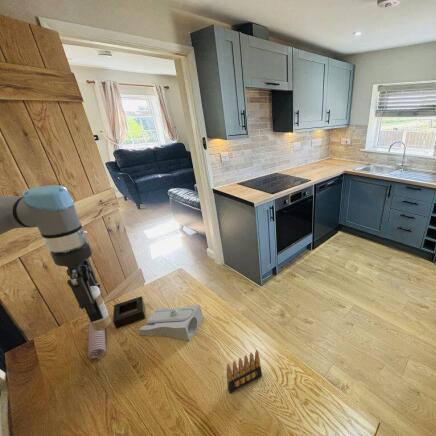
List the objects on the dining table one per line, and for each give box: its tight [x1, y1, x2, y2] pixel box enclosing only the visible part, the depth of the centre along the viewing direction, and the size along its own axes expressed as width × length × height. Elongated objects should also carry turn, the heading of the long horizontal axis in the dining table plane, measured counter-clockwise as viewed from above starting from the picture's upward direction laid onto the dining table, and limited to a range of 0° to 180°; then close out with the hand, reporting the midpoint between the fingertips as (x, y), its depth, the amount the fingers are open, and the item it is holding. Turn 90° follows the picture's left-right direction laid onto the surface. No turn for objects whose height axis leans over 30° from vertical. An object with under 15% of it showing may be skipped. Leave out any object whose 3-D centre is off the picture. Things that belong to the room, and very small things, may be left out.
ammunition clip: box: [226, 349, 263, 394], centre depth 72 cm, size 11×2×12 cm, turn 120°
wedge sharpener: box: [138, 304, 204, 342], centre depth 92 cm, size 11×20×7 cm, turn 83°
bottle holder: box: [112, 295, 146, 330], centre depth 97 cm, size 10×10×4 cm
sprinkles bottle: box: [90, 286, 112, 331], centre depth 69 cm, size 5×5×13 cm
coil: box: [87, 320, 107, 360], centre depth 86 cm, size 5×5×18 cm
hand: (97, 313), depth 70 cm, fingers closed on sprinkles bottle, 4 cm apart
